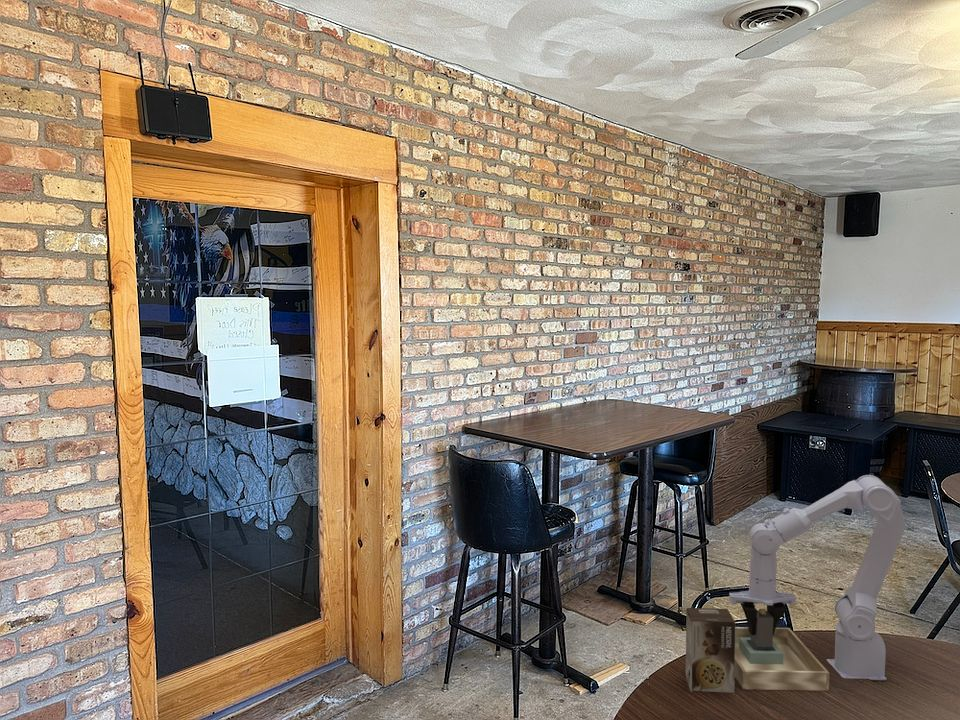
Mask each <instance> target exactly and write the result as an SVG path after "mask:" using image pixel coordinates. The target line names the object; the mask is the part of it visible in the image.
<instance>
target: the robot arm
mask: <svg viewBox="0 0 960 720" xmlns="http://www.w3.org/2000/svg"><path fill="white" fill-rule="evenodd" d="M901 503H902V502H901V499H900V498H899V496H897V494H896V493H895V492H894V490H893V489H892V488H890V486H888V485H886V484H885V482H884V481H882V479H881V478H879V477H878V476H875V475H872V474H865V475H862V476H859V477H858V478H857V479H853V480H851V481H847V482H846V483H845V484H843V486H841V487H839V488H838V489H836V490H834V491H833V492H831V493H829V494H827V495H825V496H824V497H822V498H820V499H818V500H817V501H815V502H813V503H812V504H810V505H808V506H807V507H805V508H802V509H800V508H797V507H792V508H791V509H789V508H788V507H786V508H785V509H783V510H782V513H781V514H779V515H778V516H775V517H773V518H771V519H768V518H767V519H765V520H764V522H763V523H762V522H759V523H756V524H754V525H753V526H751V529H750V531H749V532H748V538H749V539H750V542H751V545H750V546H751V547H750V556H749V581H748V582H749V584H748V585H749V586H748V590H745V591H743V590H742V591H738V592H737V591H736V592H729V595H728V596H729V597H728V601H729V603H730V604H731V605H737V604H740V605H741V609H742V611H743V612H744V616H745V618H746V623H747V627H748V628H749V632H750V633H751V635H755V622H756V616H757V612H758V611H759V610H758V609H757V608H756V605H755V604H762V605H764V606H766V611H768V612H769V613H770V615H771V616H772V617H773V635H774V632H775V629H776V628H777V626H778V624H779V621H780V620H781V619H782V617H783V615H784V614H785V613H786V607H785V606H784V605H790V606H796V605H797V601H796V600H797V597H796V596H795V595H794V593H786V592H778V591H777V569H778V568H777V565H778V563H777V562H778V559H777V552H778V551H779V549H780V546H781V545H782V544H785V543H787V542H790V541H792V540H794V539H795V538H797V537H799V536H802V535H804V534H805V533H807V532H809V531H810V528H811V526H812V524H813V523H815V522H817V521H819V520H822V519H823V518H826V517H828V516H830V515H833V514H836V513H838V512H840V511H842V510H845V509H849V510H850V509H851V510H855V511H862V512H863V511H864V508H863V506H864V507H865V508H866V509H867V510H868V511H869V512H870V513H871V515H872V517H873V518H874V520H875V522H876V524H875V526H874V529H873V531H872V533H871V536H870V539H869V541H868V544H867V547H866V549H865V552H864V554H863V556H862V559H861V562H860V564H859V567H858V569H857V572H856V574H855V577H854V580H853V582H852V584H851V586H849V587H847V588H846V589H845V591H844V594H843V595H842V596H841V597H839V598H838V599H837V600H836V602H835V603H834V612H835V614H836V615H837V617H838V618H839V621H838V623H837V624H836V625H835V637H834V638H835V639H834V640H835V642H834V658H827V659H826V661H827V662H828V663H829V664H830V666H832V668H833V669H834V670H835V671H836V672H837V673H838V674H839V675H840V677H841V678H844V679H862V680H863V679H864V680H865V679H866V680H867V679H869V681H887V677H886V674H885V672H886V654H887V653H886V651H887V650H886V645H885V642H884V639H883V638H882V636H881V635H880V634H879V633H878V632H876V616H877V614H878V613H877V612H878V611H877V610H878V609H877V599H878V596H879V594H880V591H881V589H882V587H883V584H884V582H885V579H886V577H887V575H888V572H889V569H890V567H891V564H892V562H893V560H894V557H895V554H896V552H897V550H898V547H899V545H900V543H901V540H902V537H903V535H904V533H905V530H906V526H907V525H906V520H905V517H904V513H903V509H902V504H901Z"/></svg>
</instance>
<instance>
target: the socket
mask: <svg viewBox="0 0 960 720" xmlns="http://www.w3.org/2000/svg"><path fill="white" fill-rule="evenodd" d="M739 648H740V650H741V651H742V653H743V654H744V656H745V657H746V658H747V660H748V661H749V663H750V664H783V655H784V654H783V652H782V651H781V650H780V649H779V648H778V646H777V645H776V644H775V643H774V641H773V642H772V647H756V646H755V644H754V643H753V642H752V640H751V637H739ZM754 650H767V651H754Z"/></svg>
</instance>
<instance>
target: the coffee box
mask: <svg viewBox="0 0 960 720" xmlns="http://www.w3.org/2000/svg"><path fill="white" fill-rule="evenodd" d="M685 611H686V615H685V616H686V620H685V621H686V622H685V678H686V682H687V684H688V688H689V690H690V693H692V694H693V693H694V692H693V691H695V692H710V693H711V692H712V693H730V694H732V693H733V694H734V693H735V684H736V683H735V679H736V678H735V627H736V621H735V619H734V617H733V616H732V614H731V612H730V611H729V609H728V608H712V607H711V608H706V607H705V608H704V607H686V610H685Z"/></svg>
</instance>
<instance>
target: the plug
mask: <svg viewBox="0 0 960 720" xmlns="http://www.w3.org/2000/svg"><path fill="white" fill-rule="evenodd" d="M757 611H758V612H757V616H756V622H755V635H751V640H752V642H753V643H754V644H755V646H756V647H772V642H773V617H772V616H771V615H770V613H769V612H768V611H767V609H764V608H759V609H758V610H757Z"/></svg>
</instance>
